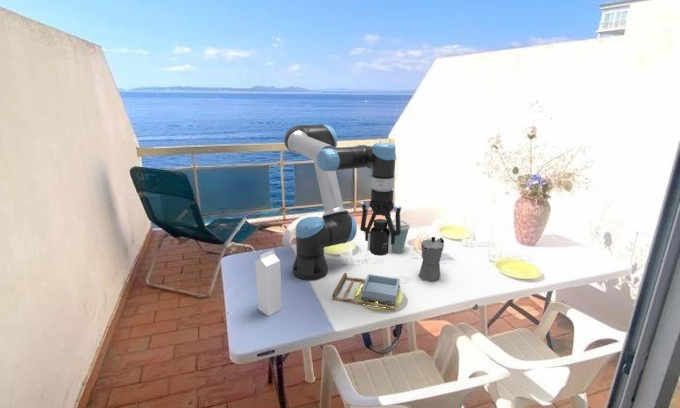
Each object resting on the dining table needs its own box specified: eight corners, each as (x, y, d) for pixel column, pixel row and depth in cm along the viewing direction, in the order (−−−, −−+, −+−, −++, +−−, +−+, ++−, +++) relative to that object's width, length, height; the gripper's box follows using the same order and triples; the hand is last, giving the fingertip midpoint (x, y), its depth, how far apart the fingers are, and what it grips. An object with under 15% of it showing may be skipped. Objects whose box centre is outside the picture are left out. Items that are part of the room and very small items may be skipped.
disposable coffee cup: (382, 247, 173) (383, 219, 169) (401, 245, 177) (403, 217, 172) (391, 256, 164) (393, 226, 159) (411, 253, 167) (414, 224, 162)
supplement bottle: (387, 257, 120) (389, 225, 117) (368, 255, 122) (369, 223, 119) (389, 249, 127) (391, 218, 123) (371, 247, 128) (372, 217, 125)
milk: (282, 308, 122) (280, 252, 116) (268, 316, 118) (266, 258, 111) (270, 302, 126) (268, 246, 119) (257, 309, 121) (254, 252, 115)
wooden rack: (332, 299, 128) (332, 294, 127) (344, 278, 143) (344, 273, 143) (394, 310, 122) (395, 304, 121) (400, 286, 137) (400, 281, 137)
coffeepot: (431, 286, 138) (435, 245, 133) (411, 278, 144) (414, 238, 139) (449, 273, 149) (454, 234, 143) (430, 266, 155) (434, 228, 150)
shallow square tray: (360, 301, 126) (360, 291, 125) (368, 282, 139) (368, 273, 138) (394, 307, 123) (395, 296, 122) (399, 287, 136) (400, 277, 135)
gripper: (351, 188, 117) (350, 250, 124) (410, 194, 111) (405, 259, 118) (357, 184, 124) (355, 243, 131) (412, 188, 118) (408, 250, 125)
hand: (379, 250), depth 124 cm, fingers closed on supplement bottle, 7 cm apart
